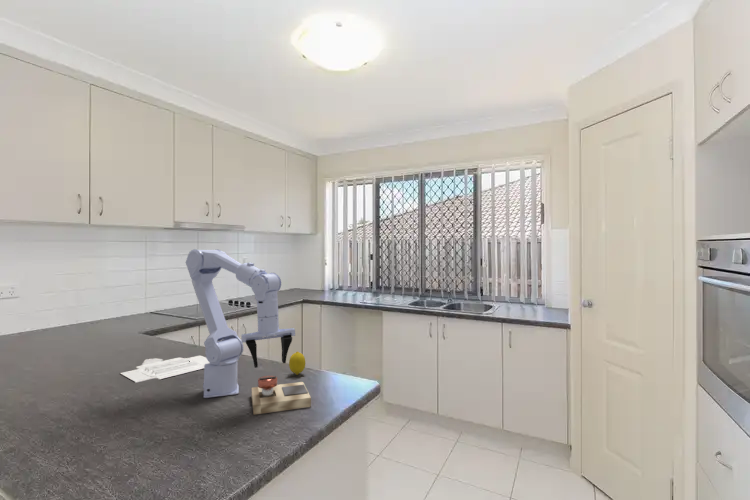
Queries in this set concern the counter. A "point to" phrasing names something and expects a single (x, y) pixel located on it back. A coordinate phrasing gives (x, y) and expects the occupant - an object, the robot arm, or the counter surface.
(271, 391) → the peg
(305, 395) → the board
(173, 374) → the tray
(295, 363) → the lemon
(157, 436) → the counter surface
